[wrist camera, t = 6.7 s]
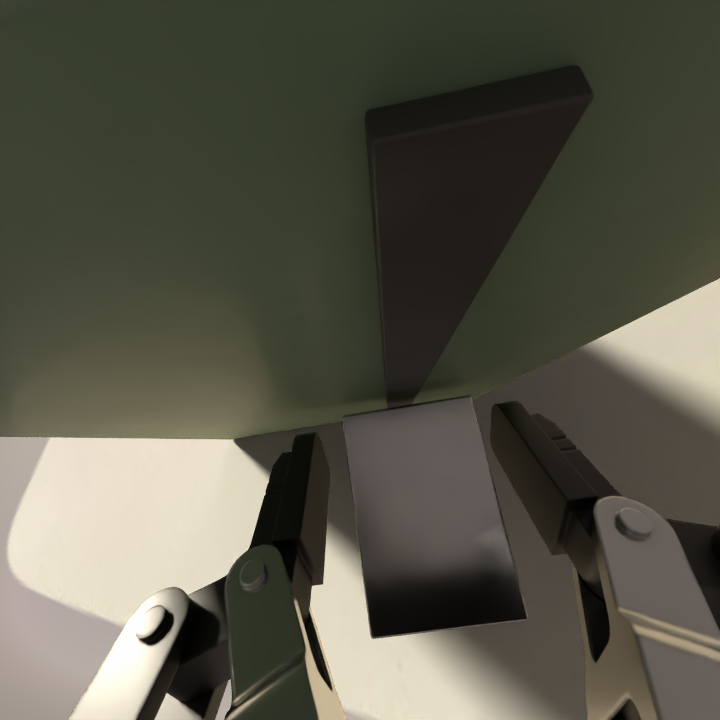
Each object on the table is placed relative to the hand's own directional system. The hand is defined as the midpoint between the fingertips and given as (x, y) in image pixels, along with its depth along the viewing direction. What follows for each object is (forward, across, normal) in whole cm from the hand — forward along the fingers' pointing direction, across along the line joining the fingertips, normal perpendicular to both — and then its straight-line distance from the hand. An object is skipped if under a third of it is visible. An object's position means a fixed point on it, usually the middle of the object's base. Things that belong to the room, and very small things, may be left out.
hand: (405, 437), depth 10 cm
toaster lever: (-2, 0, +1) cm, 2 cm away
